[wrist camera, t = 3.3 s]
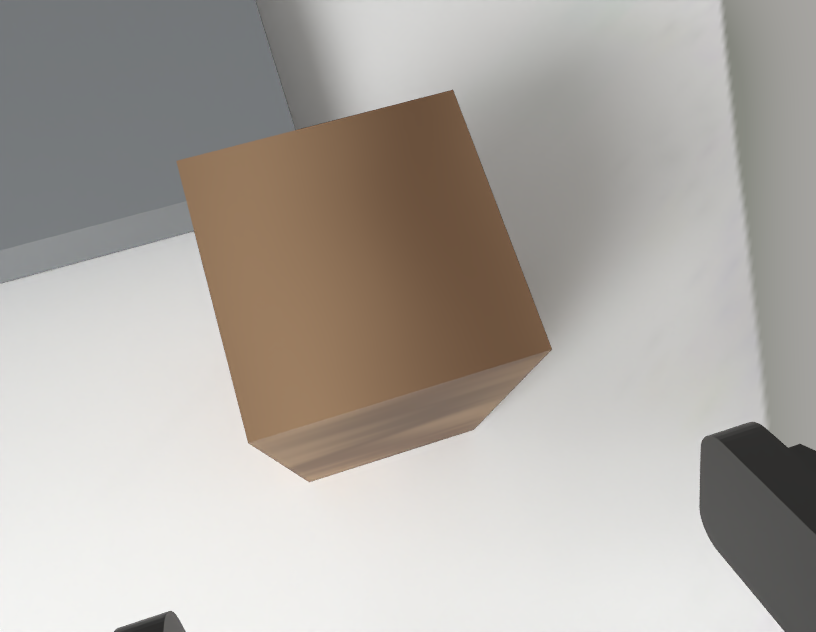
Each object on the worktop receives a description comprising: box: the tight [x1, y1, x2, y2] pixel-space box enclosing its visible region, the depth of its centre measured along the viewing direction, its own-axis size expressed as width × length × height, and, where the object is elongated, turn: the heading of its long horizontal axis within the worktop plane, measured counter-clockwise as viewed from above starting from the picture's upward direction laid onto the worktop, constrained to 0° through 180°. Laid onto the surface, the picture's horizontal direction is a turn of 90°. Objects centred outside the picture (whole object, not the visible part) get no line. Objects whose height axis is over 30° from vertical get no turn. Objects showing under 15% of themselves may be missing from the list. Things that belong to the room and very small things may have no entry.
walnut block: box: [176, 90, 552, 482], centre depth 17 cm, size 5×5×10 cm
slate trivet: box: [0, 0, 295, 283], centre depth 23 cm, size 12×12×2 cm
